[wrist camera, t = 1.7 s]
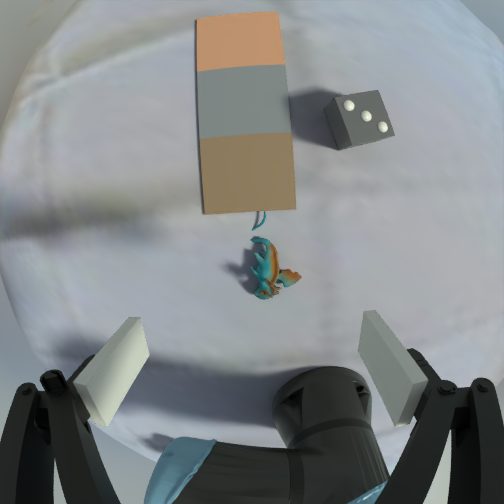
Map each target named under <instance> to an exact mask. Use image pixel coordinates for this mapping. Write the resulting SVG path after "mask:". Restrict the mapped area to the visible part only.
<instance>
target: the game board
mask: <svg viewBox="0 0 504 504" xmlns="http://www.w3.org/2000/svg"><path fill="white" fill-rule="evenodd" d="M197 89H198V117H199V138H200V155H201V171H202V185H203V198H204V210H205V215H207V214H221V213H235V212H251V211H264V210H265V211H268V210H289V209H296V195H295V177H294V160H293V146H292V133H291V121H290V109H289V99H288V88H287V79H286V70H285V61H284V53H283V45H282V37H281V30H280V23H279V16H278V12H253V13H239V14H229V15H220V16H212V17H206V18H199V19H197Z"/></svg>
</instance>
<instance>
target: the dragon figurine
mask: <svg viewBox="0 0 504 504" xmlns="http://www.w3.org/2000/svg"><path fill="white" fill-rule="evenodd" d="M265 218H266V214H265V210H264V218H263V220H262V222H261V223H260V224H259V225H257V226H256V227H254V228H253V229H252V231H253V230H254V229H256V228H258V227H259V226H261V225H262V224H263V223H264V221H265ZM251 241H252V242H261V243H263V244H264V245H265V246H266V253H265V252H264V251H260V253H261V254H262V255H263V257H264V258H262V257H260V256H259V254H258V253H256V252H255V253H254V255H255V256H256V259H257V260H258V262H259V264H258V266H257V271H255V269H254V268H253V267H252V266H250V267H251V270H252V272H253V273H254V275H255V276H256V277H257V279H258V281H259V286H258V288H257V289H256V290H255V292H254V295H255V296H256V297H258V298H260V299H268V298H270V297H271V298H272V296H273V295H277V294H279V291H277V290H279V289H282V288H280V287H276V286H275V285H273V284H274V283H275V282H276V281H277V279H279V280H281V281H282V283H283V285H284V287H288V286H291V285H293V284H294V283H296V282H297V281H298V280H299V279H300V278H301V277H302V276H300V275H299V274H298V273H297V272H295V273H292V272H291V270H290V269H287V270H285V271H284V270H282V271H281V273H280V274H279V269H280V268H279V258H278V252H277V251H276V249H275V247H274V245H273V244H272V243H271V242H270V241H269V240H267V239H264V238H258V239H251Z"/></svg>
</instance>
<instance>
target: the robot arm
mask: <svg viewBox="0 0 504 504" xmlns="http://www.w3.org/2000/svg"><path fill="white" fill-rule="evenodd" d="M358 352H359V354H360V356H361V357H362V359H363V361H364V363H365V365H366V367H367V369H368V371H369V373H370V375H371V377H372V379H373V381H374V383H375V386H376V388H377V390H378V392H379V394H380V396H381V398H382V400H383V402H384V404H385V406H386V409H387V411H388V413H389V415H390V417H391V419H392V421H393V424H394V426H395V428H396V427H400V426H403V425H407V424H410V422H411V420H412V418H413V416H415V418H416V420H417V422H416V424H415V426H414V428H413V430H412V432H411V434H410V438H409V440H408V442H407V444H406V446H405V449H404V451H403V453H402V455H401V457H400V459H399V461H398V463H397V465H396V467H395V469H394V471H393V472H392V474H391V476H390V475H389V473H388V470H387V467H386V464H385V462H384V459H383V456H382V453H381V451H380V448H379V445H378V443H377V440H376V437H375V435H374V432H373V430H372V427H371V412H372V396H371V392H370V389H369V387H368V385H367V383H366V381H365V379H364V378H363V377H362V376H361V375H360V374H358V373H357V372H355V371H353V370H350V369H346V368H340V367H327V368H320V369H315V370H312V371H308V372H306V373H303V374H301V375H299V376H297V377H295V378H293V379H292V380H290V381H289V382H288V383H286V384H285V385H284V386H283V387H282V388H281V389H280V390H279V391H278V393H277V394H276V396H275V398H274V401H273V407H272V409H273V421H274V424H275V426H276V428H277V430H278V432H279V434H280V436H281V438H282V440H283V441H284V443H285V445H286V447H287V448H270V447H257V446H247V445H239V444H231V443H224V442H218V441H217V440H215V439H212V440H204V439H198V438H191V437H179V438H176V439H174V440H173V441H171V442H170V443H169V444H168V445H167V447H166V448H165V449H164V451H163V453H162V454H161V456H160V458H159V460H158V462H157V464H156V466H155V468H154V471H153V473H152V476H151V479H150V481H149V484H148V487H147V490H146V495H145V499H144V504H423V502H424V500H425V498H426V495H427V493H428V491H429V489H430V486H431V484H432V481H433V479H434V476H435V474H436V471H437V468H438V466H439V463H440V460H441V457H442V454H443V451H444V448H445V444H446V441H447V438H448V434H449V431H450V430H451V436H452V437H451V441H452V442H451V444H452V445H451V448H452V449H451V472H450V485H449V495H448V503H447V504H504V425H503V420H502V415H501V410H500V406H499V402H498V398H497V394H496V390H495V386H494V384H493V383H492V382H491V381H490V380H488V379H486V378H477V379H475V380H474V381H473V382H472V384H471V386H470V387H464V388H457V386H456V385H455V384H454V383H453V382H451V381H448V380H441V379H440V377H439V376H438V375H437V373H436V372H435V371H434V370H433V368H432V367H431V366H430V365H429V363H428V362H427V361H426V360H425V358H424V357H423V356H422V354H421V353H420V352H418V351H417V350H415V349H413V348H411V349H405V347H404V346H403V345H402V343H401V342H400V341H399V340H398V338H397V337H396V336H395V334H394V333H393V332H392V330H391V329H390V328H389V327H388V325H387V324H386V323H385V322H384V320H383V319H382V318H381V317H380V315H379V314H378V313H377V312H376V310H373V311H364V312H363V320H362V327H361V334H360V341H359V347H358ZM149 355H150V354H149V350H148V347H147V343H146V339H145V335H144V331H143V327H142V323H141V318H140V317H129V318H128V319H127V320H126V321H125V322H124V324H123V325H122V326H121V327H120V328H119V329H118V330H117V331H116V333H115V334H114V335H113V336H112V337H111V338H110V339H109V340H108V342H107V343H106V344H105V345H104V346H103V347H102V348H101V350H100V351H99V352H98V353H97V354H96V355H92V356H90V357H88V358H87V359H86V360H85V361H84V362H83V363H82V364H81V366H79V368H78V369H77V370H76V371H75V372H74V373H73V374H72V376H71V377H70V378H69V379H68V380H67V381H66V380H65V378H64V376H63V374H62V372H61V371H60V370H49V371H47V372H45V373H44V374H43V375H42V376H41V377H40V382H41V384H42V386H43V388H44V390H45V391H38V390H37V388H36V386H35V384H33V383H24V384H22V385H21V386H19V387H18V389H17V391H16V393H15V396H14V399H13V402H12V405H11V407H10V410H9V414H8V417H7V420H6V424H5V427H4V431H3V434H2V437H1V441H0V504H54V498H53V497H54V496H53V485H54V479H53V478H54V460H55V461H56V466H57V470H58V474H59V478H60V482H61V486H62V490H63V493H64V497H65V500H66V503H67V504H121V503H120V501H119V499H118V497H117V495H116V493H115V491H114V489H113V486H112V484H111V482H110V480H109V477H108V475H107V472H106V470H105V468H104V465H103V462H102V460H101V457H100V455H99V452H98V449H97V446H96V443H95V440H94V437H93V434H92V431H91V427H90V425H89V423H88V421H87V420H88V419H89V417H90V416H91V418H92V420H93V421H94V423H95V424H98V425H101V426H105V427H108V425H109V423H110V422H111V420H112V418H113V416H114V415H115V413H116V411H117V409H118V408H119V406H120V404H121V402H122V401H123V399H124V397H125V395H126V394H127V392H128V390H129V389H130V387H131V385H132V384H133V382H134V380H135V378H136V377H137V375H138V373H139V372H140V370H141V368H142V367H143V365H144V363H145V362H146V360H147V358H148V357H149Z"/></svg>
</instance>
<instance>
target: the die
mask: <svg viewBox="0 0 504 504" xmlns="http://www.w3.org/2000/svg"><path fill="white" fill-rule="evenodd" d="M324 111H325V114H326V117H327V119H328V122H329V125H330V127H331V130H332V133H333V136H334V139H335V142H336V144H337V147H338V150H343V149H347V148H351V147H355V146H359V145H363V144H367V143H371V142H376V141H379V140H382V139H385V138H388V137H392V136H395V134H394V131H393V128H392V125H391V123H390V120H389V117H388V114H387V111H386V109H385V106H384V104H383V101H382V98H381V96H380V93H379V91H378V90H374V91H368V92H361V93H355V94H350V95H344V96H339V97H335V98H334V99H333V100H332V101H331V102H330V103H329V104H328V106H327V107H326V108H325V109H324Z"/></svg>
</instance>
